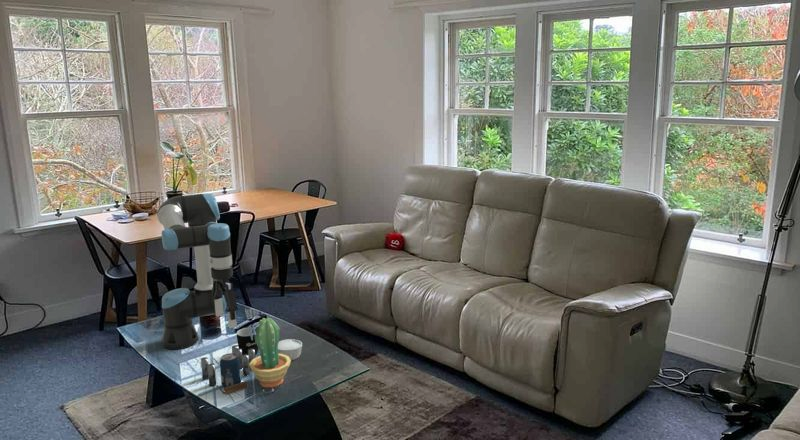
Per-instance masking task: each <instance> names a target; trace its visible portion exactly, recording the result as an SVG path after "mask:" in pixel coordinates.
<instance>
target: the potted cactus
mask: <svg viewBox="0 0 800 440" xmlns="http://www.w3.org/2000/svg"><path fill="white" fill-rule="evenodd" d="M249 334H250V337H251V339H252V340H253V338H252V337H253V335H254V336H255V342H256V344H257V346H258V352H259V356H255V358H254V359H253V360H252V361H251V362H250V364H249V365H250V368H251V370H250V371H251V372H252V373H254V375H255V377H256V379H257V380H258V381H259V382H260V383H259V385H260V386H261V385H262V387H264V388H274V387H278V386H279V385H282V384H283V383H284V377H285V375H286V374H287V372H288V369H289V368H290V365H291V363H292V360H290V358H289V356H286V355H283V354H278V343H279V341H280V327H279V326H278V324H277V323H276V322H275V321H274V320H273V319H272V318H270V317H266V318H265V317H262V319H260V320H259V321H258V322H254V323H253V324H252V326H251V330H250V333H249Z"/></svg>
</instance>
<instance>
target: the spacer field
mask: <svg viewBox="0 0 800 440" xmlns="http://www.w3.org/2000/svg"><path fill="white" fill-rule="evenodd" d="M231 353H233V354H236V355H237V357H238V359H239V366H240V370H242V376H243V375H244V376H243V377H248V376H247V375H249V376H250V375H251V372H250V371H252V370H251V368H250V365H249V364H250V362H251V361H252V360H253V359H254V358H256V355H255V349H253V348H251V349H248V354H244V355H242V349H241V348H239V347H238V344H234V345H232V346H231ZM200 364H201V365H200V366H201V374H202V375H201V376H202V380H208V383H209V384H208V385H209V387H215V386H217V375H216V365H215V363H209V358H208V357H207V356H205V357H204V356H203V357H201V358H200ZM242 368H243V369H242Z"/></svg>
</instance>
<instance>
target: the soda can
mask: <svg viewBox="0 0 800 440" xmlns="http://www.w3.org/2000/svg"><path fill="white" fill-rule="evenodd" d="M219 371H220V379H221V381H220V382H221V387H222V388H223V389H224V388H225V387H228V386H231V385H235V384H238V383H241V380H242V378H241V369H240V366H239V359H238V357H237V355H236V354H233V353H232V352H231V353H225V354H223V355H221V357H220V359H219Z"/></svg>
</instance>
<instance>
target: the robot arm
mask: <svg viewBox="0 0 800 440" xmlns="http://www.w3.org/2000/svg"><path fill="white" fill-rule="evenodd" d="M156 212H157V213H156V215H157V220H158V222H159V223H160V224H161V225H162V226H163V229H162V230H161V242H162V248H163V249H164V250H165V251H170V250H173V251H175V250H181V249H189V248H194V260H195V261H194V262H195V269H196V270H195V271H196V280H197V282H196V283H195V285H194V288H193V289H194V290H190V289H189V288H188V287H183V288H182V287H180V288H176V289H172V290H170V291H168V292H166V293H164V294H163V296H162V298H161V309H162V316H163V323H164V324H163V327H164V328H163V333H162V336H161V345H162V347H163V348H164V349H167V350H182V349H186V348H190V347H192V346H194V345H195V344H198V341H199V335H198V332H197V330H196V328H195V325H194V324H193V323H194V322H193V319H195V318H201V317H206V316H207V317H208V316H215V317H220V316H224V312H225V311H226V313H227V322H228V323H227V324H228V329H233V328H237V325H238V323H237V312H236V311H239V307H238V303H237V298H236V295H235V294H236V293H235V291H234V284H233V282H230V281H229V279H231V278H232V277H233V275H234V270H233V266H232V265H233V254H232V248H231V232H230V226H229V225H228V224H227V223H223V222H222V223H221V222H219V223H218V222H217V221H219V220H220V218H221V216H220V214H221V213H220V210H219V206H218V202H217V199H216V197H215V195H214V194H213V193H195V194H186V195H177V196H173V197H170V198H168V199H167V200H165V201H164V202H163V203H161V205H160V206H159V207H158V209H157V211H156ZM186 224H187V225H188V226H186ZM226 307H227V310H226Z"/></svg>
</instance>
